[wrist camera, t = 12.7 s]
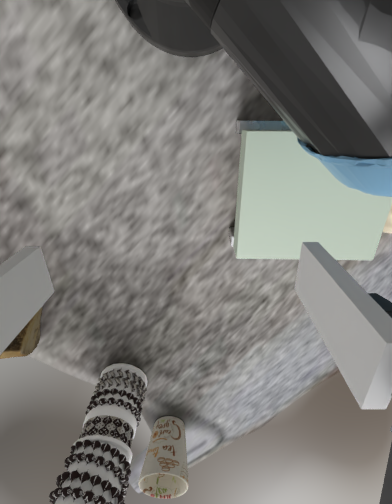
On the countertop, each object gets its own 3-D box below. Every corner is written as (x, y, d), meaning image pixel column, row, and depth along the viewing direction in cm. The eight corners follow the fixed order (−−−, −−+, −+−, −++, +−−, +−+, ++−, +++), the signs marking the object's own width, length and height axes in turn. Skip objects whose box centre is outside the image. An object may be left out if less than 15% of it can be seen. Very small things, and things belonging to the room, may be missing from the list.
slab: (241, 130, 25) (246, 131, 22) (392, 131, 25) (416, 132, 22) (233, 246, 30) (236, 258, 28) (357, 247, 30) (372, 260, 27)
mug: (195, 417, 52) (194, 478, 43) (177, 451, 57) (173, 512, 48) (154, 408, 51) (144, 469, 42) (140, 443, 56) (128, 504, 47)
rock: (45, 362, 43) (72, 333, 38) (-20, 388, 36) (4, 357, 31) (22, 305, 46) (44, 272, 41) (-42, 318, 39) (-23, 280, 34)
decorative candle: (139, 402, 50) (89, 628, 28) (91, 386, 49) (-2, 614, 26) (158, 372, 47) (118, 605, 24) (107, 354, 45) (15, 586, 23)
